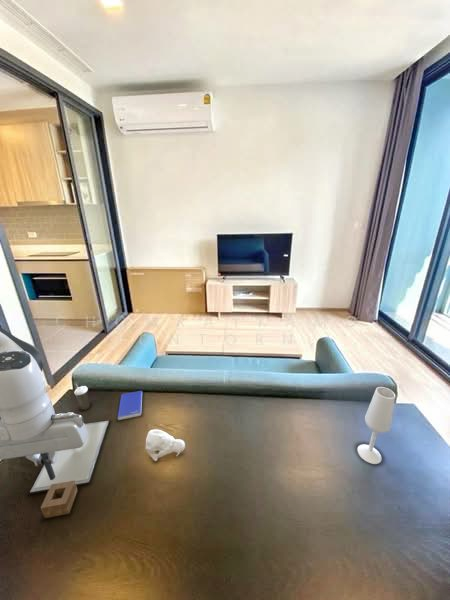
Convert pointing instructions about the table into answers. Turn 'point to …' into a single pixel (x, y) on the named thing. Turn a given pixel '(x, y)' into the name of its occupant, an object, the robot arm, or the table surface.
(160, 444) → the white animal figurine
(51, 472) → the stylus
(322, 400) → the table surface
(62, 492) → the stand
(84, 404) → the milkshake
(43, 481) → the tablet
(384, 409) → the champagne flute
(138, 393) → the hard drive
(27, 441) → the robot arm
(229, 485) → the table surface
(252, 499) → the table surface
